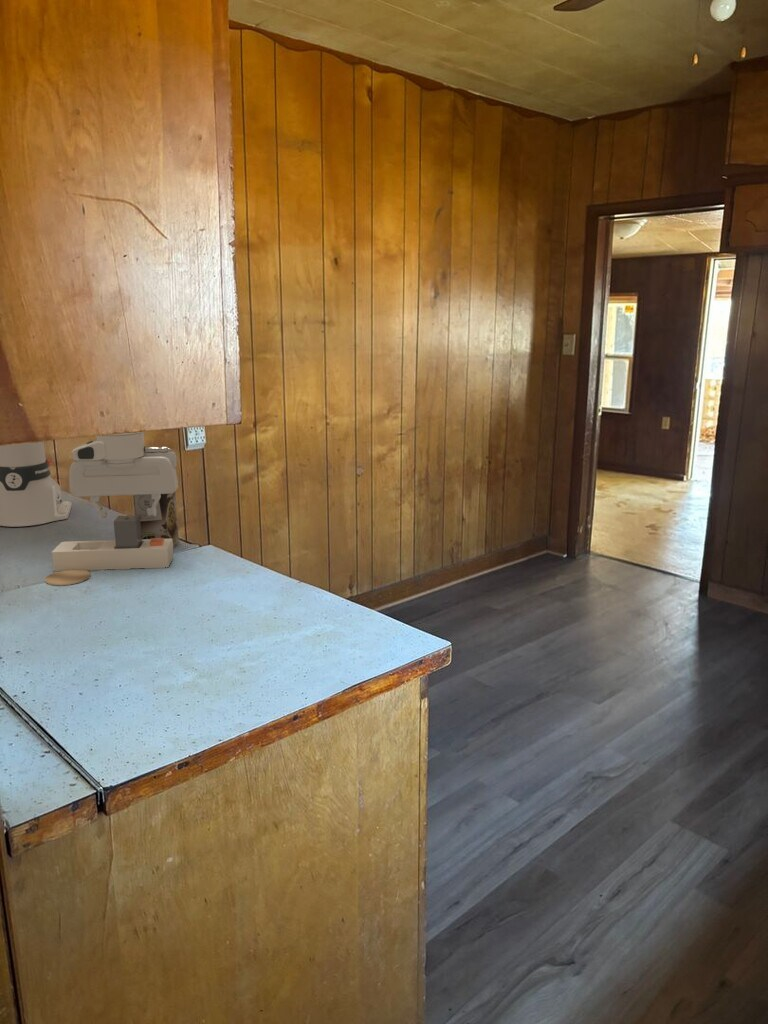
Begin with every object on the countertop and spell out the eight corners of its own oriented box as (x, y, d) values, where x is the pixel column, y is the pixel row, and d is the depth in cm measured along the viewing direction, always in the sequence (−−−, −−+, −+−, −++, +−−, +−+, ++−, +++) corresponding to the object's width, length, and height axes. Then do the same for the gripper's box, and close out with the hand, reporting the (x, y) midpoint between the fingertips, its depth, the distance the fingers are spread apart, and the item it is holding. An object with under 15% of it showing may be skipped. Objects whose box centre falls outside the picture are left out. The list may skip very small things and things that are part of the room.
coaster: (52, 572, 147) (52, 570, 147) (95, 570, 148) (94, 569, 148) (39, 586, 139) (39, 584, 139) (84, 585, 140) (84, 582, 140)
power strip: (53, 571, 147) (50, 548, 146) (64, 560, 154) (61, 537, 153) (168, 567, 150) (166, 544, 149) (173, 556, 157) (172, 534, 155)
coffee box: (167, 555, 158) (162, 480, 154) (137, 554, 158) (131, 479, 154) (180, 542, 167) (175, 471, 163) (151, 542, 167) (145, 470, 163)
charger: (121, 548, 153) (118, 515, 152) (142, 548, 154) (139, 514, 152) (116, 555, 149) (113, 520, 148) (138, 554, 150) (135, 520, 148)
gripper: (178, 443, 150) (183, 510, 154) (72, 446, 148) (79, 514, 151) (173, 448, 144) (178, 518, 148) (62, 451, 142) (70, 522, 145)
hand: (127, 516), depth 149 cm, fingers open, 8 cm apart
